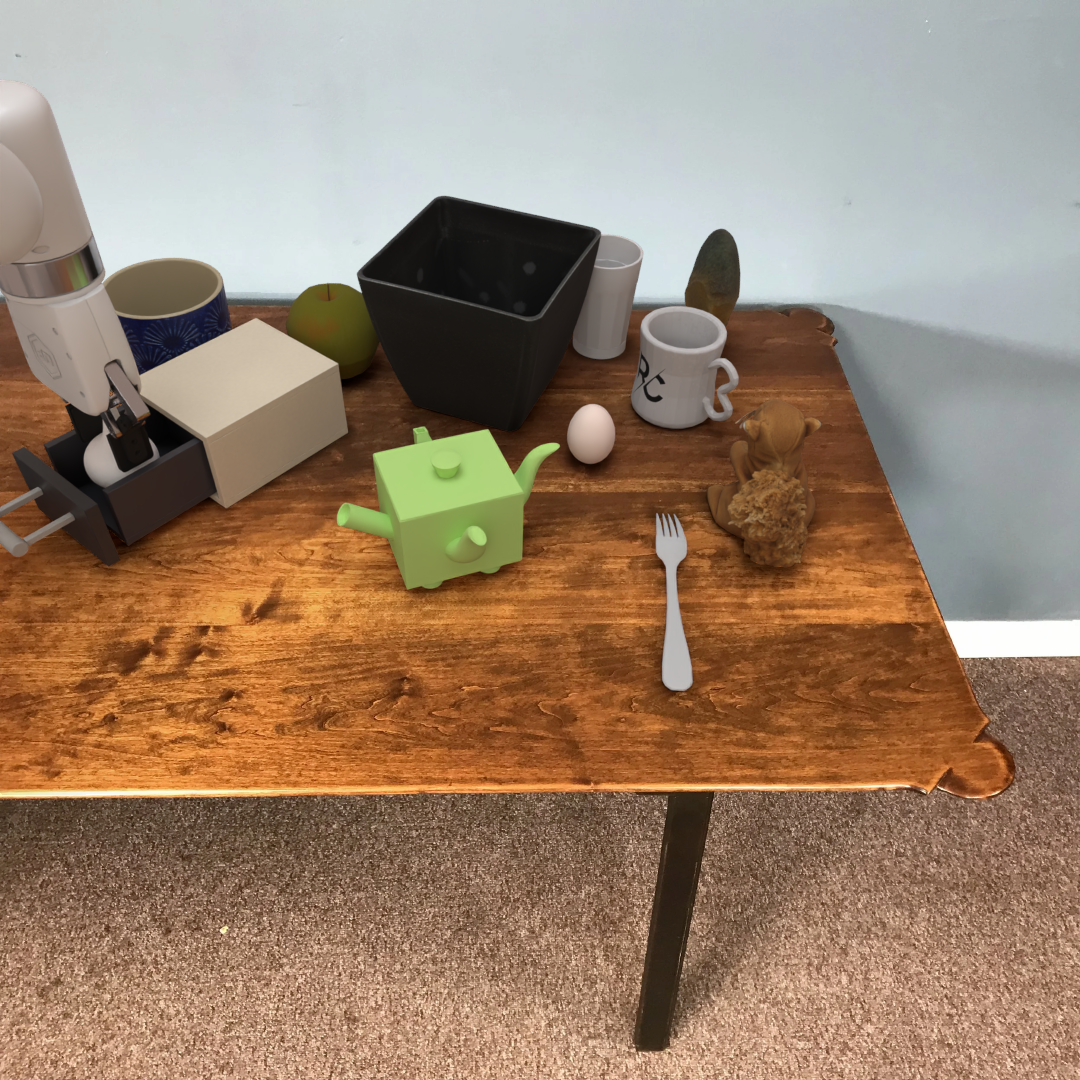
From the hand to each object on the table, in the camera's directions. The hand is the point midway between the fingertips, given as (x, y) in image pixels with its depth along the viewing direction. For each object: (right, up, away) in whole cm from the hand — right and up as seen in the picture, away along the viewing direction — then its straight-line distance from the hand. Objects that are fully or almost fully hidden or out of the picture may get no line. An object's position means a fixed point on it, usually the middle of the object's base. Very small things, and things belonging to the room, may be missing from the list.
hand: (116, 447), depth 82 cm
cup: (+45, +15, +28) cm, 55 cm away
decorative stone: (+57, +14, +28) cm, 65 cm away
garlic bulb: (0, -2, +2) cm, 3 cm away
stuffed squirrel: (+59, -8, +6) cm, 60 cm away
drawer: (-2, -6, +3) cm, 7 cm away
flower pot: (+32, +8, +21) cm, 39 cm away
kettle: (+30, -10, +2) cm, 32 cm away
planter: (-2, +10, +21) cm, 23 cm away
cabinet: (+8, +2, +13) cm, 15 cm away
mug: (+53, +5, +19) cm, 57 cm away
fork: (+49, -13, 0) cm, 51 cm away
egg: (+43, 0, +13) cm, 45 cm away
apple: (+15, +11, +23) cm, 29 cm away
